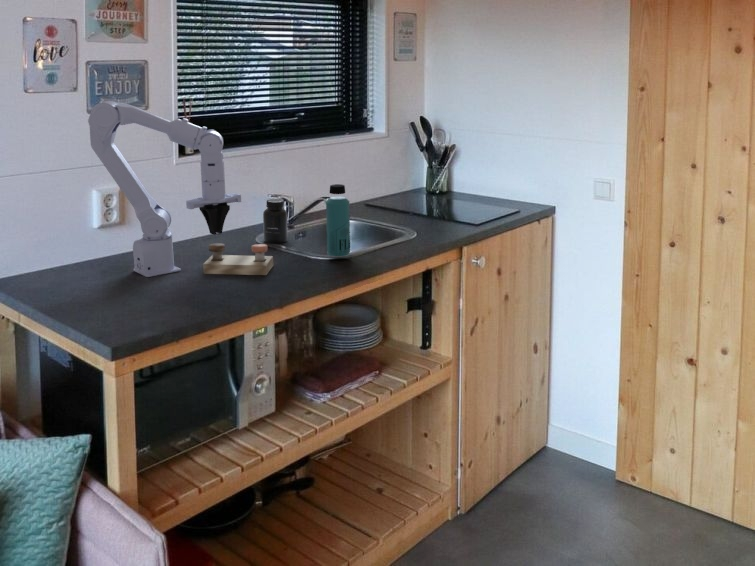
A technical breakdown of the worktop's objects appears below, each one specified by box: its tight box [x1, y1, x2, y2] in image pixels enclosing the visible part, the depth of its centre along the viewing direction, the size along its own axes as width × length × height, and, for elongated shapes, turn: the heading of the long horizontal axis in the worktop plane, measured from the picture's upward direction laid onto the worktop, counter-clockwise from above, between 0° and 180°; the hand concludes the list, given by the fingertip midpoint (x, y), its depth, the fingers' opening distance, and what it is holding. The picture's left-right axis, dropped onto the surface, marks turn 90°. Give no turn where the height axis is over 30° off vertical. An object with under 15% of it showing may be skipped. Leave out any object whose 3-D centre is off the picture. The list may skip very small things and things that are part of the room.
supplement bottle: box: [262, 198, 288, 244], centre depth 246 cm, size 7×7×12 cm
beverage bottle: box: [325, 184, 351, 257], centre depth 226 cm, size 6×7×20 cm
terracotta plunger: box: [250, 243, 268, 261], centre depth 217 cm, size 4×4×4 cm
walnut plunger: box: [208, 242, 226, 260], centre depth 218 cm, size 4×4×4 cm
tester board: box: [202, 254, 274, 276], centre depth 218 cm, size 16×9×2 cm, turn 85°
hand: (216, 233), depth 216 cm, fingers closed
